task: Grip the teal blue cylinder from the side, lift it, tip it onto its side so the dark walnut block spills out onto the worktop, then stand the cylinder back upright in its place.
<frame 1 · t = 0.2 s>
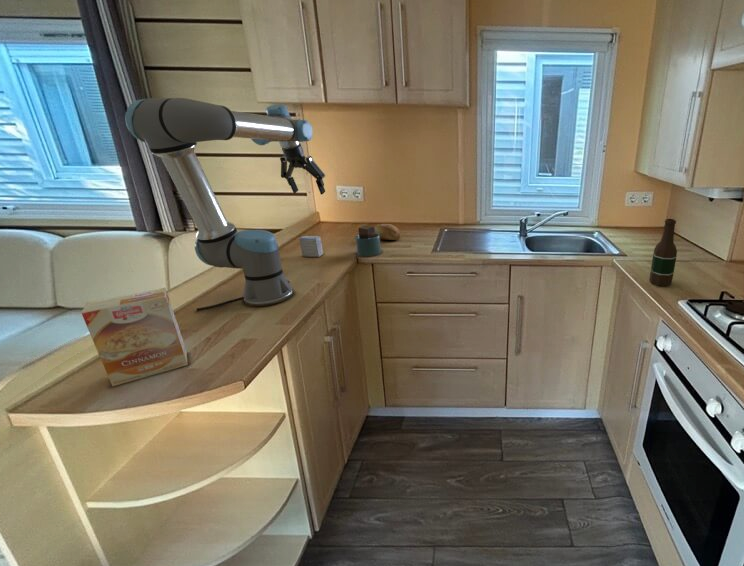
hand: (309, 192, 178), 28 cm above the table, tool tilted 20°, fingers open, 13 cm apart
beer bottle: (660, 283, 150), on the table
medicine box: (313, 255, 184), on the table
coffeecake box: (152, 370, 101), on the table
block: (367, 237, 184), point 7 cm above the table, touching teal blue cylinder
teal blue cylinder: (369, 252, 187), on the table, touching block
bread roll: (387, 239, 207), on the table
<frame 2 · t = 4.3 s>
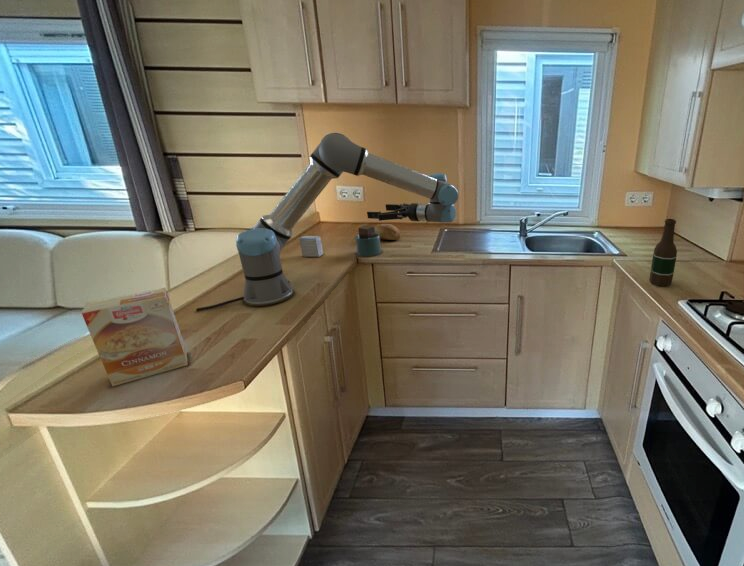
hand: (377, 211, 176), 20 cm above the table, tool horizontal, fingers open, 13 cm apart
nothing on the table moved.
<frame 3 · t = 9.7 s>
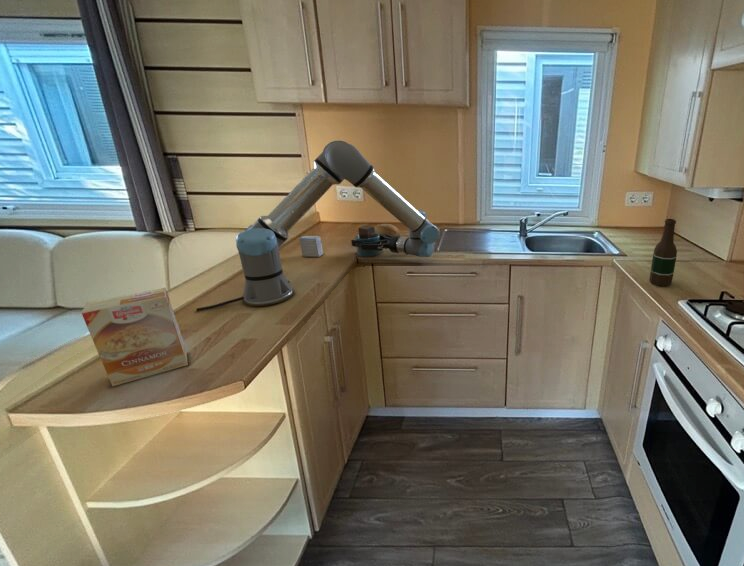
hand: (361, 239, 186), 6 cm above the table, tool horizontal, fingers closed on teal blue cylinder, 11 cm apart
teal blue cylinder: (369, 252, 187), on the table, touching block, gripper
everything else where it was.
when the fingers open (6 cm above the table, at t = 26.1 s): teal blue cylinder moves 2 cm, on the table.
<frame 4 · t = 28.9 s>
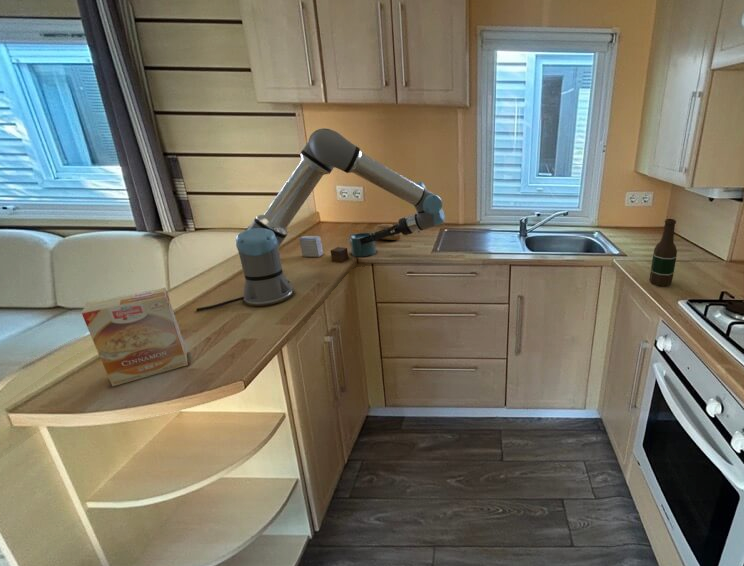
hand: (368, 238, 180), 8 cm above the table, tool tilted 70°, fingers open, 13 cm apart
block: (338, 249, 176), point 5 cm above the table, tilted 180°
teal blue cylinder: (364, 252, 186), on the table, touching gripper
everything else where it was.
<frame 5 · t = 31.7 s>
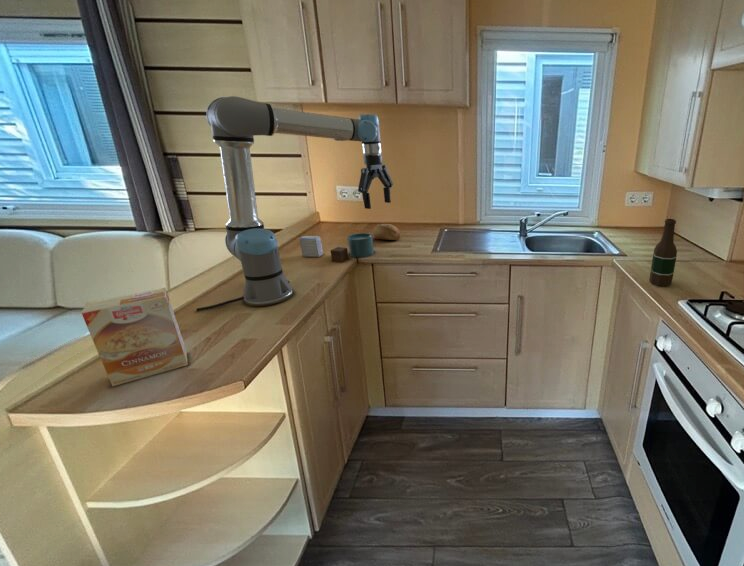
hand: (378, 205, 175), 23 cm above the table, tool pointing down, fingers open, 13 cm apart
teal blue cylinder: (362, 253, 186), on the table
everything else where it was.
at the end: block point 5.0 cm above the table; block touching table; teal blue cylinder tilted 0° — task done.
